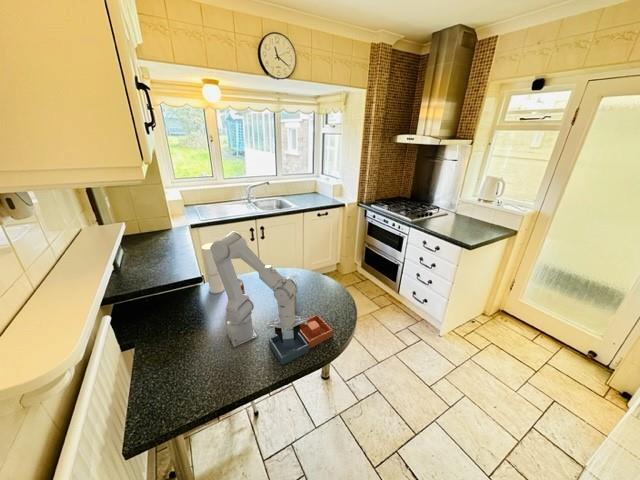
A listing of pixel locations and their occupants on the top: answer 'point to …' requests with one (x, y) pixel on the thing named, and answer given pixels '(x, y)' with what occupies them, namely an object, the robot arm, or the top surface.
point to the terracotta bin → (324, 334)
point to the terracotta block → (313, 328)
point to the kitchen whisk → (296, 294)
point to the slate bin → (288, 348)
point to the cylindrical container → (212, 270)
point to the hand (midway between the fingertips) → (288, 339)
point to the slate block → (288, 338)
